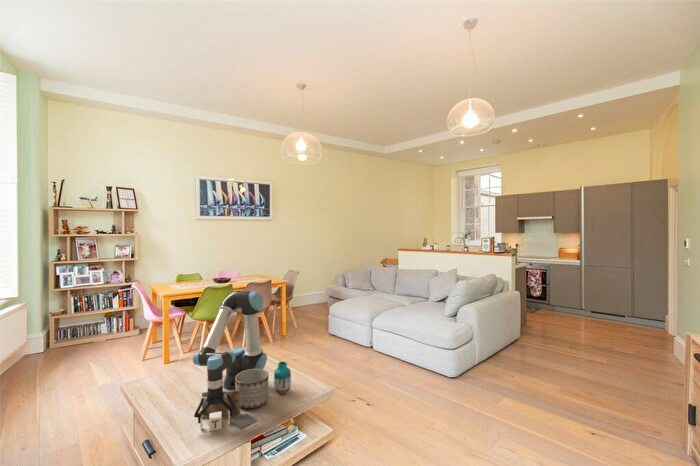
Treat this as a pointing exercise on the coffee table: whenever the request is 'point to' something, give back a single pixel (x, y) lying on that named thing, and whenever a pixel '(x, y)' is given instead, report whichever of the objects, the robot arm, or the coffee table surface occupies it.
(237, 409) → the walnut screen
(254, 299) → the robot arm
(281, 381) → the vase
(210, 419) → the cream cube
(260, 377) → the planter
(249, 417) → the mat
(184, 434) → the coffee table surface
